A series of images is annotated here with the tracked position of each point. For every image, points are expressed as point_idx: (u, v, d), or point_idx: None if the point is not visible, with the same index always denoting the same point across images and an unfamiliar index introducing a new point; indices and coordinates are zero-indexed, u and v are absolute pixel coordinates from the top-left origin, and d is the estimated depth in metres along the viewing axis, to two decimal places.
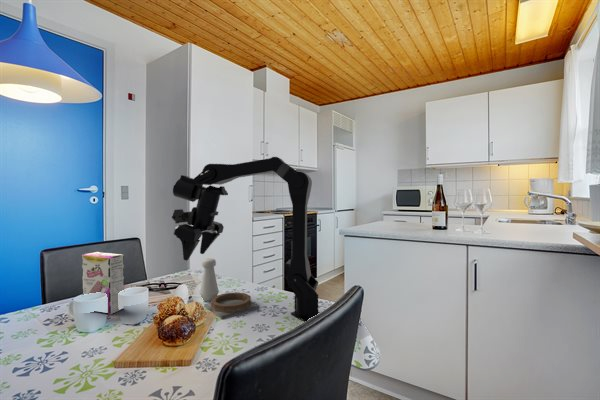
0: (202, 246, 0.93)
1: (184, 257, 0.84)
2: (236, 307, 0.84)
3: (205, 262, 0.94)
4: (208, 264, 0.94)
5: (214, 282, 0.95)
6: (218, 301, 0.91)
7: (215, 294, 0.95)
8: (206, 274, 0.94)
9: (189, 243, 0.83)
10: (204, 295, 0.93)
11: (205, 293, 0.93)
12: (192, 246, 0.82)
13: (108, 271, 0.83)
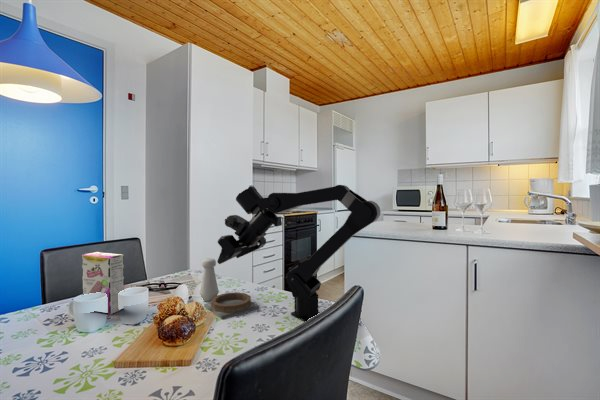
0: (239, 251, 0.97)
1: (219, 260, 0.88)
2: (236, 307, 0.84)
3: (205, 262, 0.94)
4: (208, 264, 0.94)
5: (214, 282, 0.95)
6: (218, 301, 0.91)
7: (215, 294, 0.95)
8: (206, 274, 0.94)
9: None
10: (204, 295, 0.93)
11: (205, 293, 0.93)
12: (228, 258, 0.85)
13: (108, 271, 0.83)
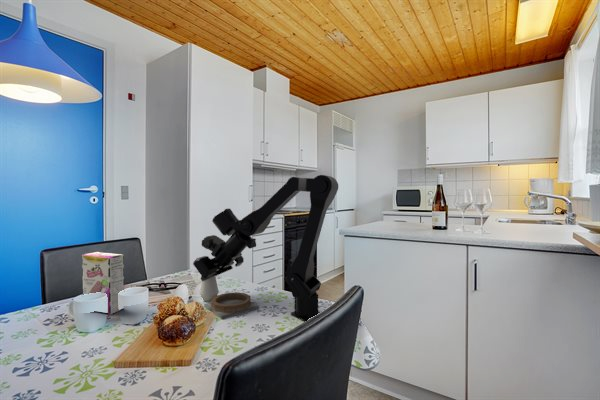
0: None
1: (201, 278, 0.94)
2: (236, 307, 0.84)
3: None
4: None
5: (214, 282, 0.95)
6: (218, 301, 0.91)
7: (215, 294, 0.95)
8: None
9: None
10: (204, 295, 0.93)
11: (205, 293, 0.93)
12: None
13: (108, 271, 0.83)
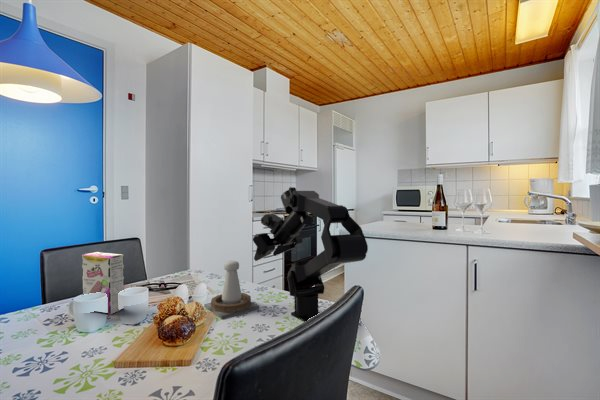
0: (277, 249, 0.99)
1: (255, 257, 0.92)
2: (236, 307, 0.84)
3: (229, 265, 0.87)
4: (232, 266, 0.87)
5: (238, 286, 0.88)
6: (218, 301, 0.91)
7: (240, 299, 0.88)
8: (230, 278, 0.87)
9: None
10: (228, 301, 0.86)
11: (230, 298, 0.86)
12: (263, 255, 0.88)
13: (108, 271, 0.83)
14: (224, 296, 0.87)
